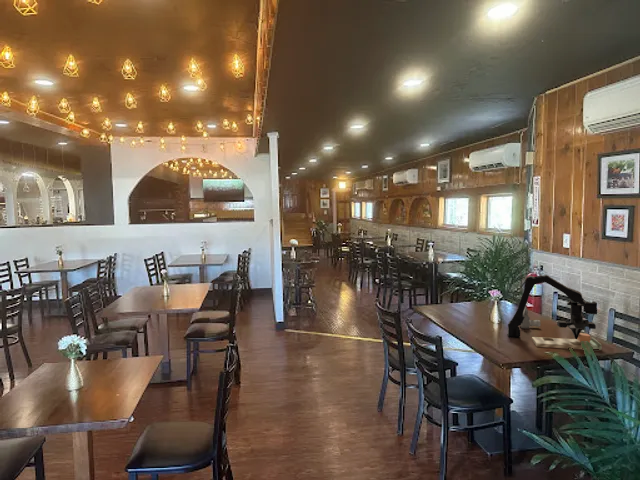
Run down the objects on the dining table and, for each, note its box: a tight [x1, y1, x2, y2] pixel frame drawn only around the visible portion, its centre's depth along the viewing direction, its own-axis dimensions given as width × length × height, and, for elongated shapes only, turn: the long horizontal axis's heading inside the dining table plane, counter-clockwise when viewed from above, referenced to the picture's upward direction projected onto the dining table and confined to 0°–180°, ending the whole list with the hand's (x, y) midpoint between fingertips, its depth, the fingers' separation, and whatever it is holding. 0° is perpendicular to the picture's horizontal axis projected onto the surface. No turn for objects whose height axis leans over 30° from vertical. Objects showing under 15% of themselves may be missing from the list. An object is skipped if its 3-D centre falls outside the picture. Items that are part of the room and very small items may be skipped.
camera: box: [519, 305, 542, 329], centre depth 286 cm, size 9×12×15 cm
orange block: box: [577, 332, 591, 343], centre depth 249 cm, size 5×5×4 cm
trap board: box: [531, 336, 603, 351], centre depth 249 cm, size 33×13×4 cm, turn 74°
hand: (575, 339), depth 250 cm, fingers closed
